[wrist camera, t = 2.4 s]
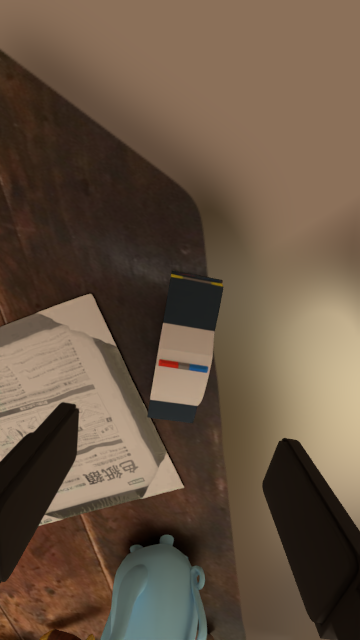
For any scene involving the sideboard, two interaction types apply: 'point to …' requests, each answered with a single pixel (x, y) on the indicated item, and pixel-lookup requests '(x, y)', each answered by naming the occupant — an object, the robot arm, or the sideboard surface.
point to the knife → (62, 636)
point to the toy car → (185, 347)
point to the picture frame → (81, 407)
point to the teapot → (156, 596)
